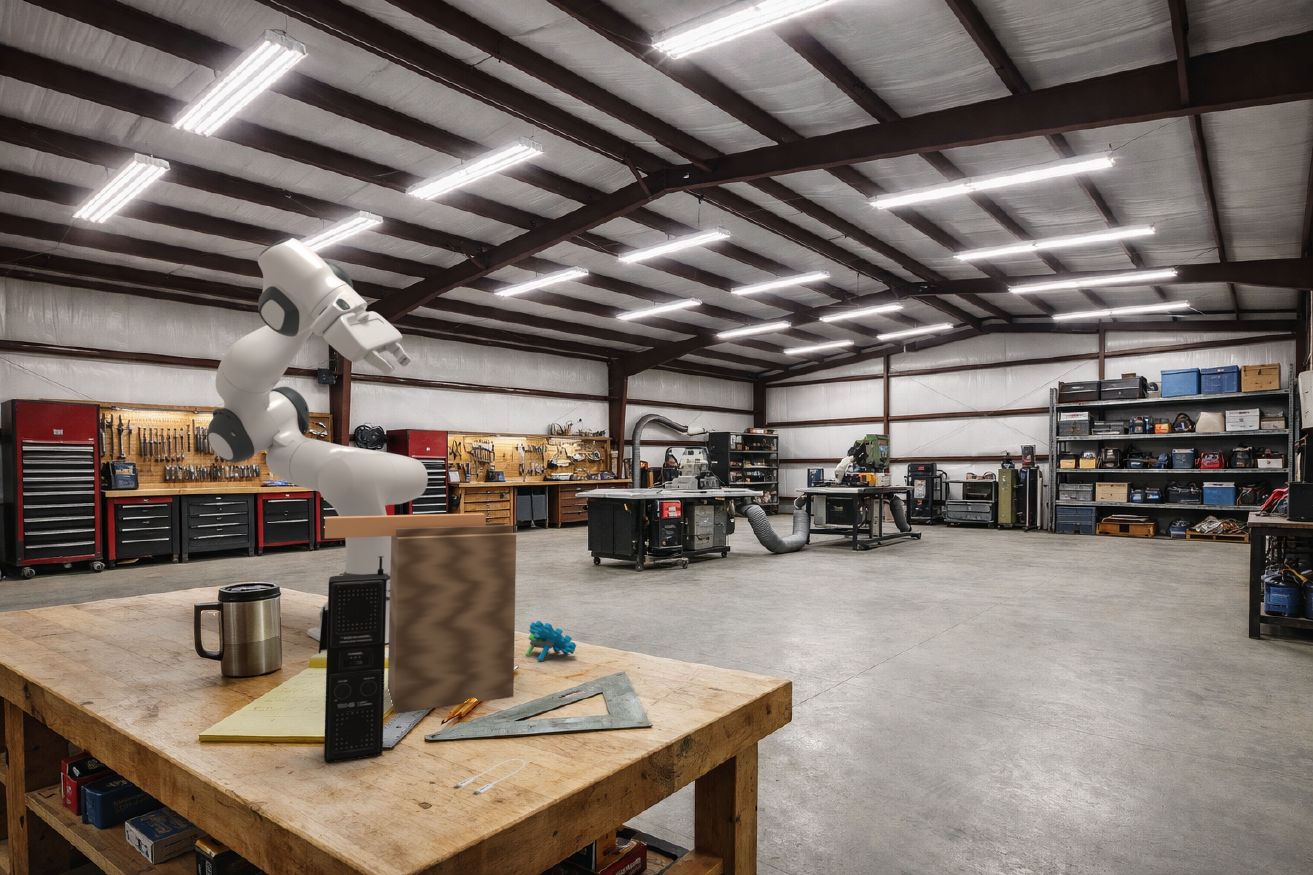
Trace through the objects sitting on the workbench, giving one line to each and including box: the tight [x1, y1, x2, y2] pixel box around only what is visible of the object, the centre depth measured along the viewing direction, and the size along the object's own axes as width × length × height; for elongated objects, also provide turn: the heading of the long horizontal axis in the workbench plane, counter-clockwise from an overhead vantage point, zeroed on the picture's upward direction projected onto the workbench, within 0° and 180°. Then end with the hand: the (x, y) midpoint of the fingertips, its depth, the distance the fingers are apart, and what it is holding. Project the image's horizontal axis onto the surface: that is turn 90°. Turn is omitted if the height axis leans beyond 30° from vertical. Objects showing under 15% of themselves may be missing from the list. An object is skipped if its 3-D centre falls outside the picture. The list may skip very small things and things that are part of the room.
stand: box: [387, 521, 517, 714], centre depth 113 cm, size 18×12×27 cm, turn 116°
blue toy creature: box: [525, 620, 577, 663], centre depth 133 cm, size 11×6×10 cm
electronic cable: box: [452, 758, 526, 796], centre depth 83 cm, size 4×10×1 cm, turn 150°
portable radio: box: [318, 556, 387, 764], centre depth 90 cm, size 8×6×25 cm
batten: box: [324, 512, 487, 539], centre depth 110 cm, size 24×3×3 cm, turn 116°
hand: (399, 367), depth 129 cm, fingers open, 8 cm apart
